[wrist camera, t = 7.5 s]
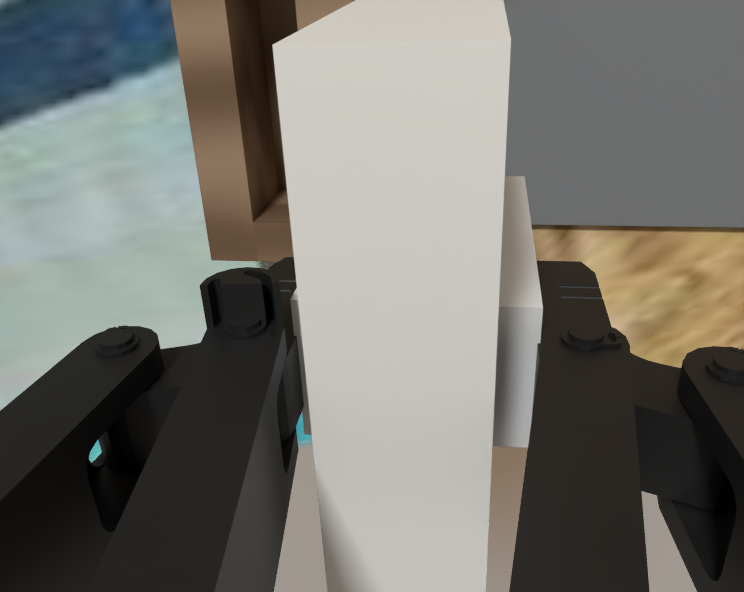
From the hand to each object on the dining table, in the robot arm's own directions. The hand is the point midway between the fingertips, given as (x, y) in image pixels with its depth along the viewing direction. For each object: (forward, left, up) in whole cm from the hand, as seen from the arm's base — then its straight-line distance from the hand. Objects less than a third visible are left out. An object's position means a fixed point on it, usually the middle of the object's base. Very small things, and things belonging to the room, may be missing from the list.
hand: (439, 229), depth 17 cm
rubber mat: (+6, -6, -21) cm, 23 cm away
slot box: (-6, +6, -21) cm, 23 cm away
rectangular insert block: (0, 0, -7) cm, 7 cm away
